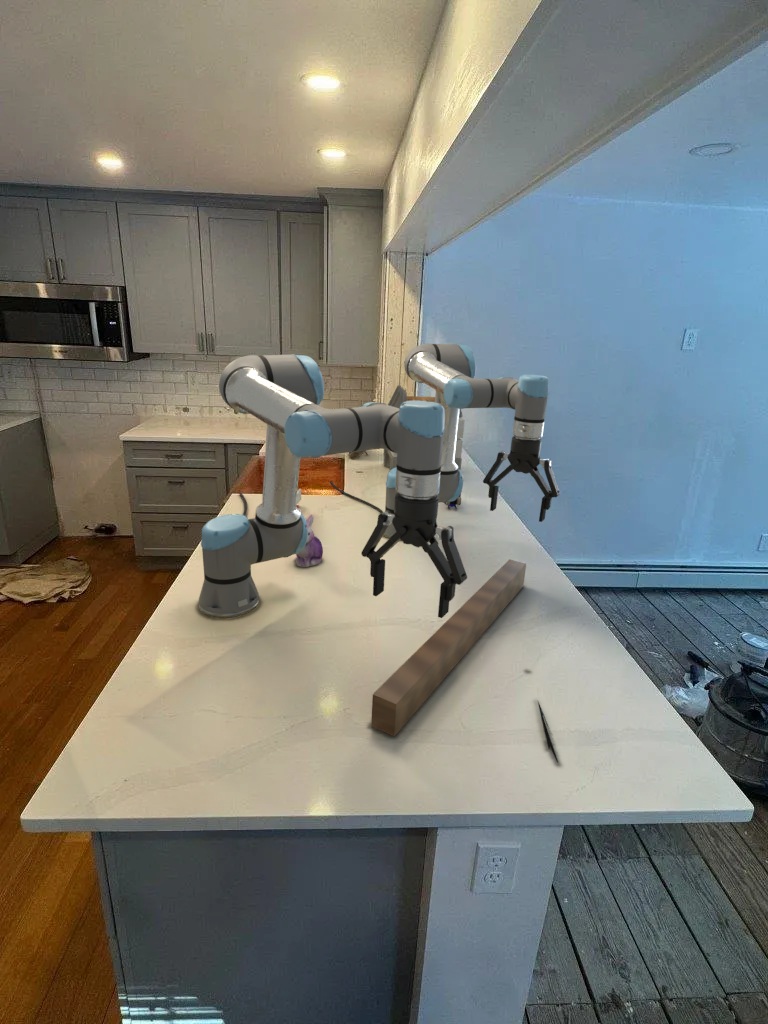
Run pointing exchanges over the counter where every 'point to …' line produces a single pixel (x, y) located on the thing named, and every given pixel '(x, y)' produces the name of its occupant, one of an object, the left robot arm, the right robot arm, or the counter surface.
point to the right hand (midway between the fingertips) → (516, 514)
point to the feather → (547, 731)
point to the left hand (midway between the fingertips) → (409, 603)
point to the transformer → (401, 397)
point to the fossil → (356, 454)
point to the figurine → (310, 548)
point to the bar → (443, 650)
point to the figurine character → (454, 502)
